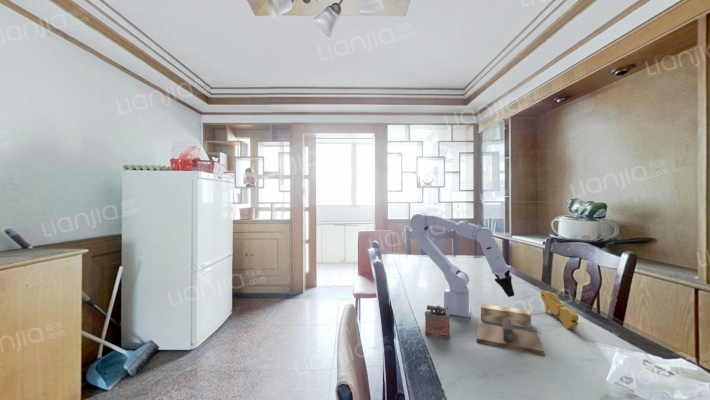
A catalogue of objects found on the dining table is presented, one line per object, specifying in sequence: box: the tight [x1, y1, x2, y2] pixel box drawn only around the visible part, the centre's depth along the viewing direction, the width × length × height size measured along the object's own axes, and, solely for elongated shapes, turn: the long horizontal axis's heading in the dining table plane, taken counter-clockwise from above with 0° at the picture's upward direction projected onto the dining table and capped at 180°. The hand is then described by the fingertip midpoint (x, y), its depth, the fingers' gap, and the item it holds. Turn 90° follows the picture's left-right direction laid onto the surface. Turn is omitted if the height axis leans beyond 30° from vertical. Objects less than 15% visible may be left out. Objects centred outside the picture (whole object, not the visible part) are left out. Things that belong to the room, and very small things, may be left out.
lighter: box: [424, 305, 451, 340], centre depth 92 cm, size 8×3×10 cm, turn 71°
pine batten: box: [480, 303, 532, 329], centre depth 101 cm, size 16×4×5 cm, turn 64°
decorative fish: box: [540, 290, 580, 330], centre depth 103 cm, size 22×3×10 cm, turn 169°
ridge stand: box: [476, 318, 545, 356], centre depth 89 cm, size 18×12×5 cm, turn 64°
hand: (510, 293), depth 101 cm, fingers open, 7 cm apart
